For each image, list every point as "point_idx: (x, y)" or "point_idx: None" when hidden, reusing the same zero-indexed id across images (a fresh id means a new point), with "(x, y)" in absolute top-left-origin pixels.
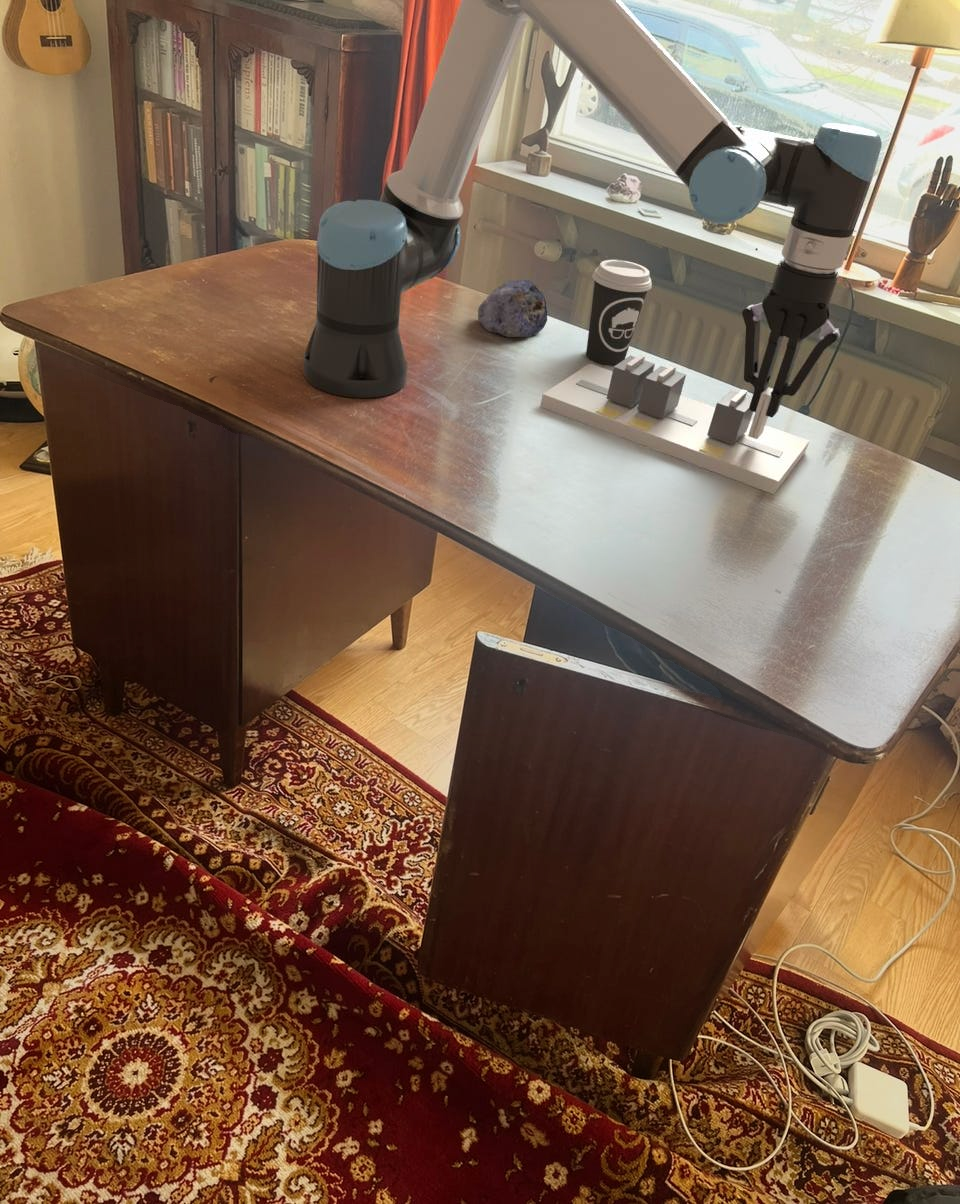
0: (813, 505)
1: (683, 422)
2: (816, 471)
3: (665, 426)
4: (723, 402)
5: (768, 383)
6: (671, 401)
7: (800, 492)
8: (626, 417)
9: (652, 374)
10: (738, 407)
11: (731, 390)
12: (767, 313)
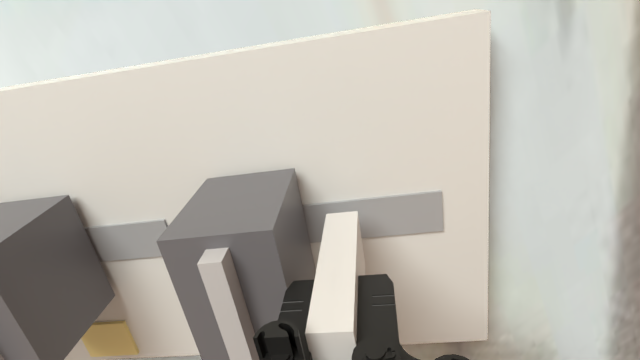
0: (577, 289)
1: (150, 256)
2: (545, 108)
3: (143, 304)
4: (216, 354)
5: (304, 356)
6: (74, 286)
7: (532, 258)
8: None
9: None
10: None
11: (162, 246)
12: None
